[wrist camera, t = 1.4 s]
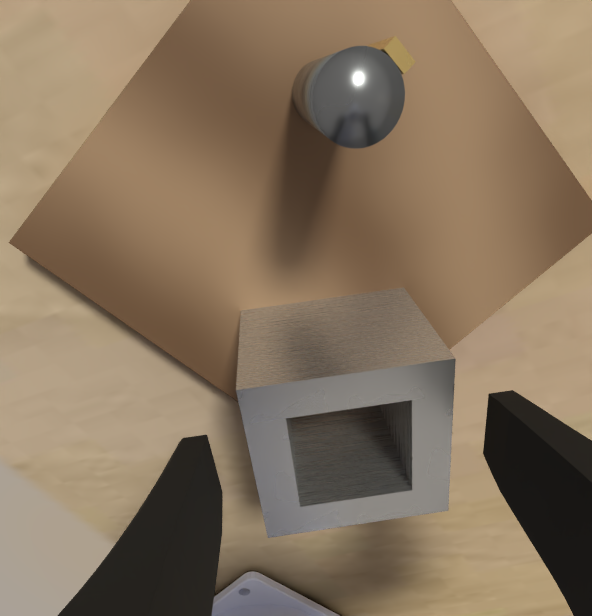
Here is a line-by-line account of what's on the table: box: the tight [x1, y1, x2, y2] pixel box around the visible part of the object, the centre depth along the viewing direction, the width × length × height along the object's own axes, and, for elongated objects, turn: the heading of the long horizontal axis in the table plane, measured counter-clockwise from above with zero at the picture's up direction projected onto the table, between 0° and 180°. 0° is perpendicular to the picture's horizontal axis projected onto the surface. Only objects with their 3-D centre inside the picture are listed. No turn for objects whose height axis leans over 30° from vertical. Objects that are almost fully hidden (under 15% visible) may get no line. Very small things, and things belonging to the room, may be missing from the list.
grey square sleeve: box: [236, 288, 455, 538], centre depth 13 cm, size 5×5×4 cm
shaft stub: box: [292, 36, 416, 149], centre depth 9 cm, size 2×2×4 cm
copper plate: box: [9, 0, 592, 401], centre depth 13 cm, size 12×12×1 cm
